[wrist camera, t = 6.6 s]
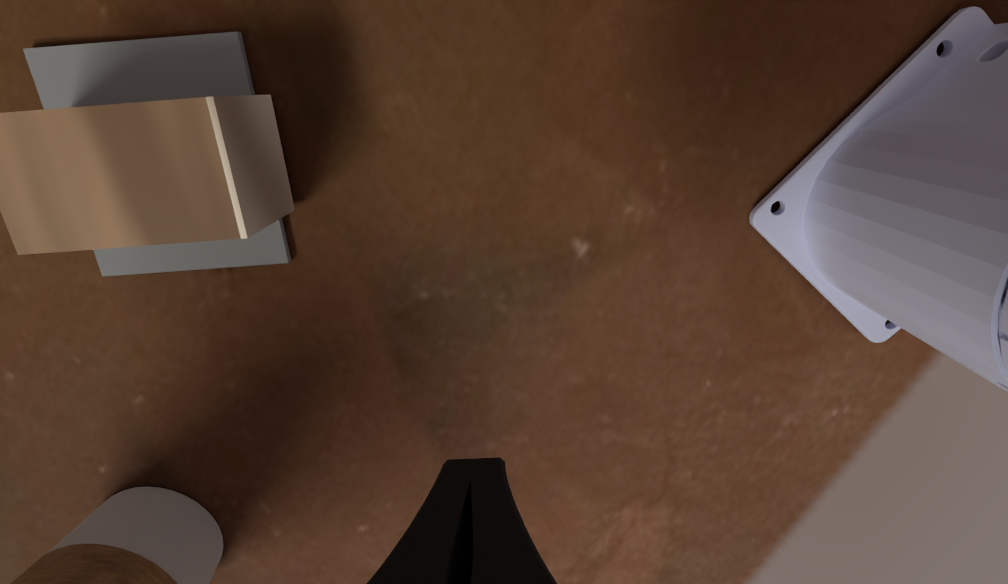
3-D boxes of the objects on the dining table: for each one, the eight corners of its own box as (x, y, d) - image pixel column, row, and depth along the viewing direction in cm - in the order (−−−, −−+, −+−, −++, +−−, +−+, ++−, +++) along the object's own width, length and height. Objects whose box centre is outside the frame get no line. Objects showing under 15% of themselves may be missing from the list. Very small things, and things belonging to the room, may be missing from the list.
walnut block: (212, 96, 15) (-38, 115, 15) (247, 238, 16) (18, 254, 16) (270, 94, 19) (69, 110, 19) (294, 210, 20) (107, 223, 20)
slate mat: (240, 32, 18) (237, 31, 18) (291, 260, 21) (288, 262, 21) (30, 49, 18) (22, 48, 18) (107, 274, 21) (102, 276, 21)
